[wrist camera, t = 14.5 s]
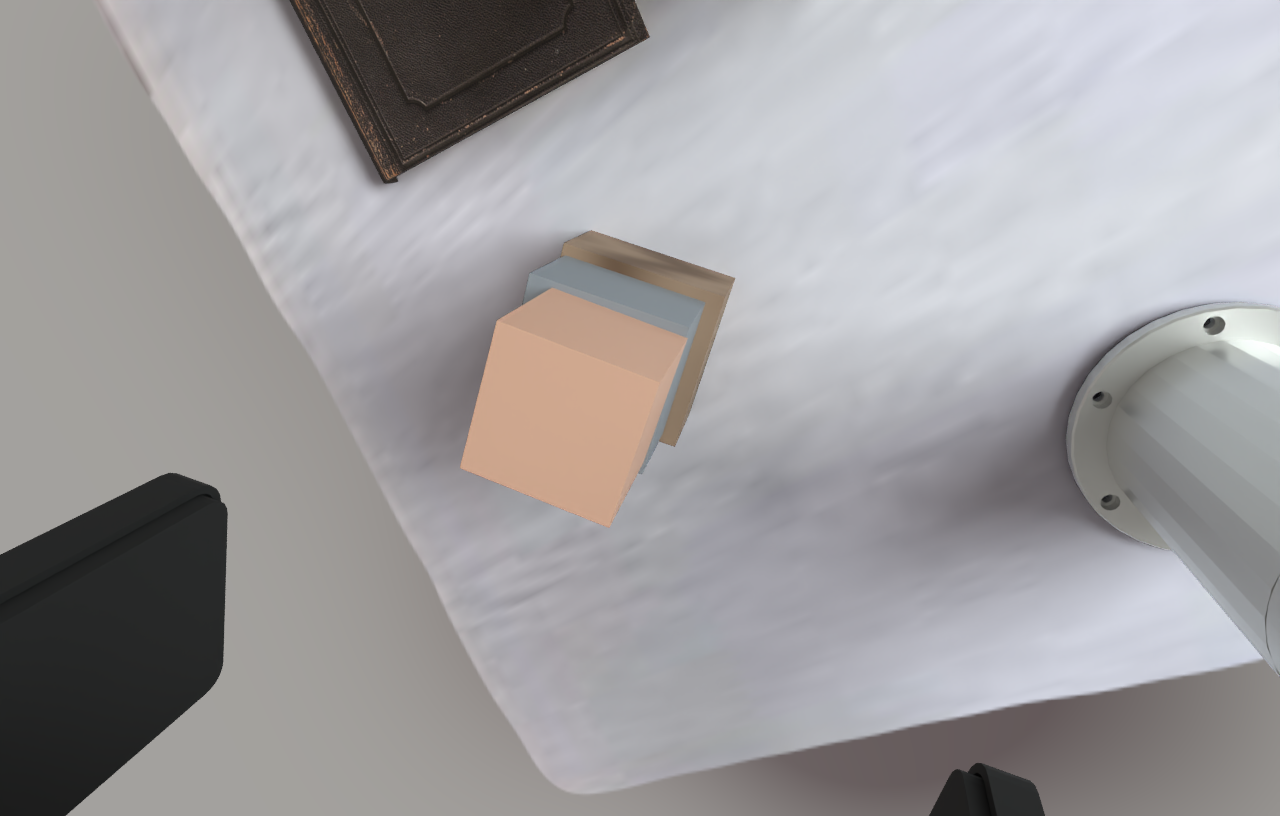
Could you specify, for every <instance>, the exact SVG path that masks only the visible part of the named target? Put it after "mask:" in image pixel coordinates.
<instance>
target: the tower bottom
mask: <svg viewBox="0 0 1280 816" xmlns="http://www.w3.org/2000/svg"><path fill="white" fill-rule="evenodd" d="M565 255H566V256H569V257H572V258H575V259H578V260H581V261H584V262H587V263H590V264H593V265H596V266H599V267H602V268H605V269H608V270H611V271H614V272H617V273H620V274H623V275H626V276H629V277H632V278H635V279H638V280H641V281H644V282H647V283H650V284H653V285H656V286H659V287H662V288H665V289H668V290H671V291H674V292H677V293H680V294H683V295H685V296H688V297H691V298H694V299H697V300H700V301H703V302H706V303H705V306H704V309H703V312H702V315H701V318H700V321H699V324H698V327H697V330H696V333H695V336H694V339H693V343H692V346H691V349H690V352H689V355H688V358H687V361H686V364H685V367H684V370H683V373H682V376H681V379H680V382H679V385H678V388H677V392H676V395H675V398H674V401H673V404H672V407H671V410H670V413H669V416H668V419H667V422H666V425H665V428H664V431H663V434H662V436H661V438H660V440H659V441H660V442H663V443H666V444H668V445H671V446H674V447H675V445H676V443H677V440H678V438H679V436H680V434H681V431H682V429H683V427H684V425H685V422H686V420H687V418H688V416H689V413H690V410H691V407H692V404H693V401H694V398H695V395H696V392H697V389H698V386H699V384H700V381H701V378H702V375H703V372H704V369H705V366H706V363H707V360H708V357H709V354H710V351H711V348H712V345H713V342H714V339H715V336H716V333H717V330H718V327H719V324H720V322H721V319H722V316H723V313H724V310H725V307H726V304H727V301H728V298H729V295H730V292H731V289H732V286H733V283H734V280H735V278H733V277H730V276H727V275H724V274H721V273H718V272H715V271H712V270H709V269H706V268H703V267H700V266H697V265H694V264H691V263H688V262H685V261H682V260H679V259H676V258H673V257H670V256H667V255H664V254H661V253H658V252H655V251H652V250H649V249H646V248H643V247H640V246H637V245H634V244H631V243H628V242H625V241H622V240H619V239H616V238H613V237H610V236H607V235H604V234H601V233H598V232H595V231H592V230H591V231H589V232H587V233H585V234H582V235H580V236H578V237H576V238H574V239H571V240H569V241H567V242H565V243H564V245H563V249H562V253H561V257H563V256H565ZM561 257H560V258H561Z"/></svg>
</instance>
